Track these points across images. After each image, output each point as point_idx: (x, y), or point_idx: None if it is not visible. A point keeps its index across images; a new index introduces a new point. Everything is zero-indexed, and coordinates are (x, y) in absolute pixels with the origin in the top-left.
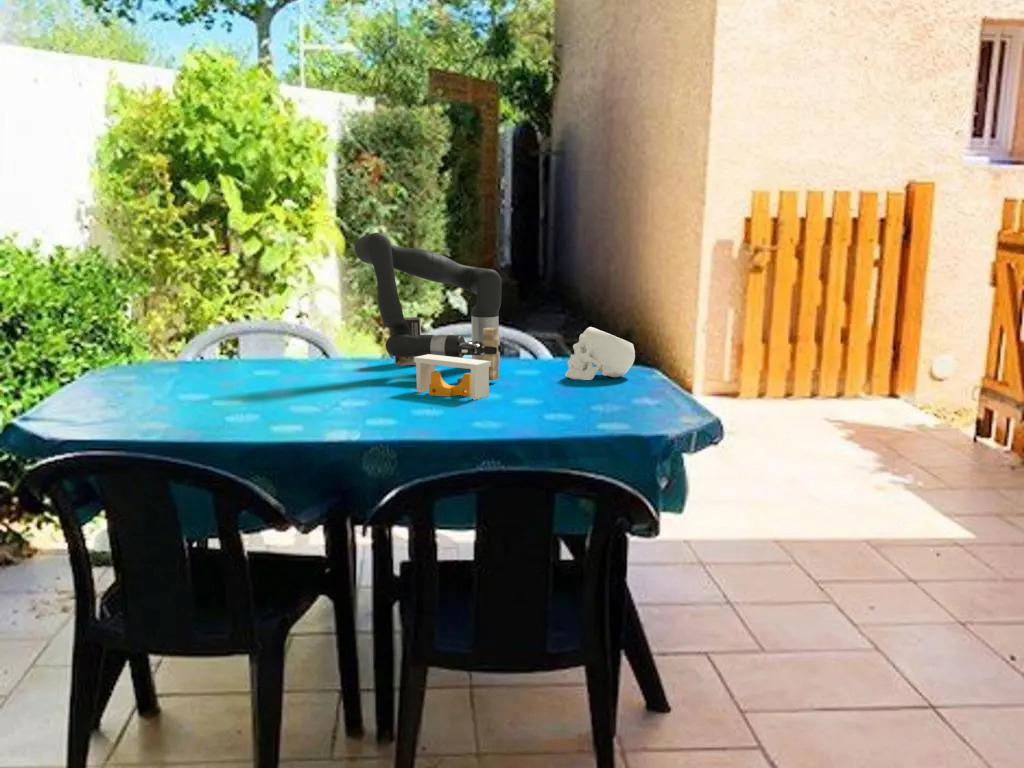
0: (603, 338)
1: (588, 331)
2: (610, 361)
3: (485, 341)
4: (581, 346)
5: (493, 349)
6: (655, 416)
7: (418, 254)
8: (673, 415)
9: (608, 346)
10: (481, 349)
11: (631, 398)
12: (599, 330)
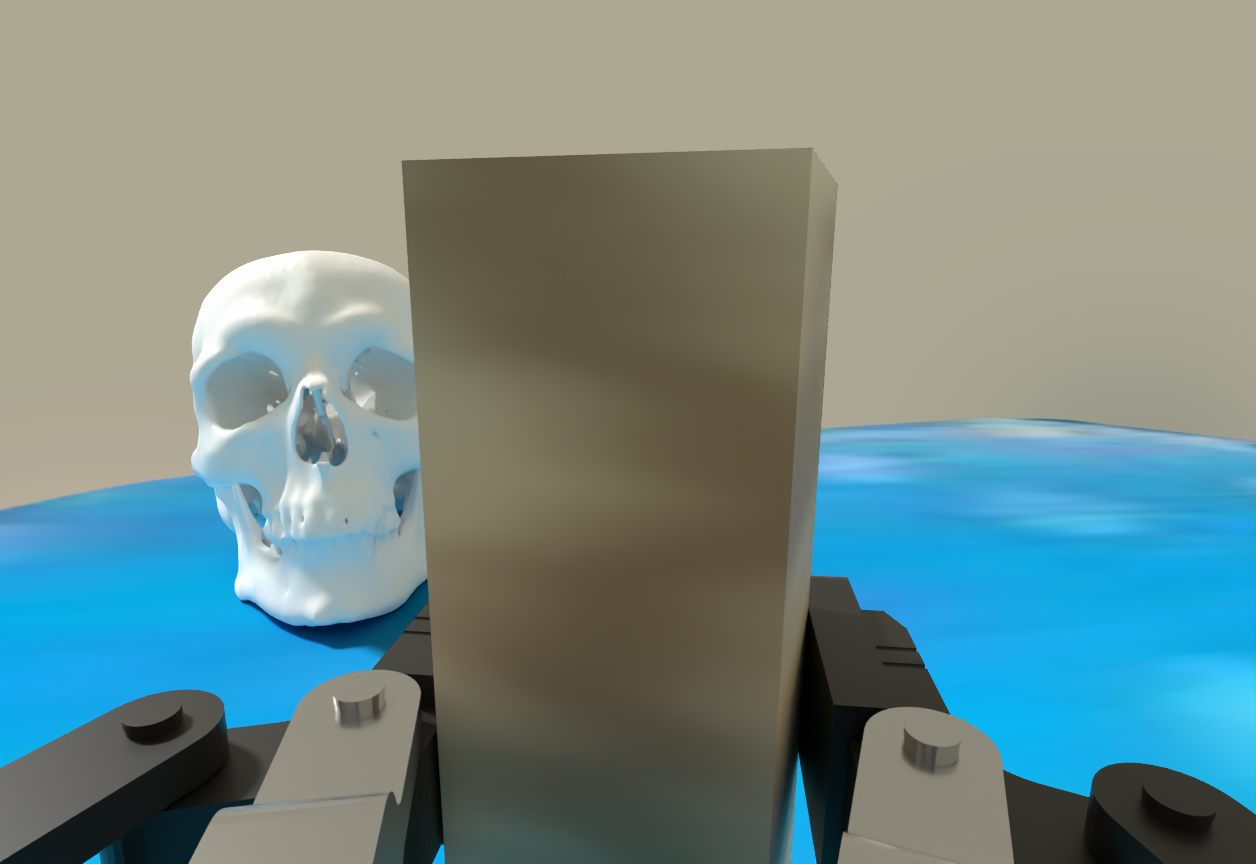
0: None
1: (357, 276)
2: None
3: (794, 584)
4: (340, 386)
5: (888, 630)
6: (1061, 455)
7: None
8: (1008, 442)
9: None
10: (1073, 821)
11: (824, 484)
12: (384, 265)
